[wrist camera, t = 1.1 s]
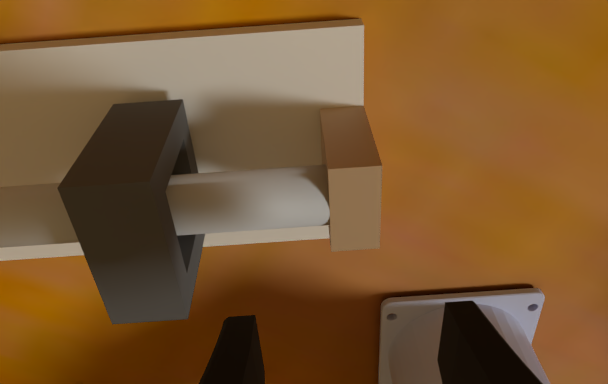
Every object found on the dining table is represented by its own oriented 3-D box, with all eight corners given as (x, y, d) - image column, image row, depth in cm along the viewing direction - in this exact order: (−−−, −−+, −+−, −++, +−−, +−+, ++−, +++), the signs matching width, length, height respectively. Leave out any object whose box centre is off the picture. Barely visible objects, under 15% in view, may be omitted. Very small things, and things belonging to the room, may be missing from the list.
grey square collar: (182, 99, 17) (149, 181, 13) (208, 219, 20) (187, 319, 16) (113, 104, 17) (57, 188, 13) (148, 223, 20) (112, 324, 16)
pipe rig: (361, 18, 17) (385, 72, 13) (360, 224, 22) (377, 311, 18) (-272, 63, 17) (-449, 131, 13) (-131, 258, 23) (-226, 352, 18)
